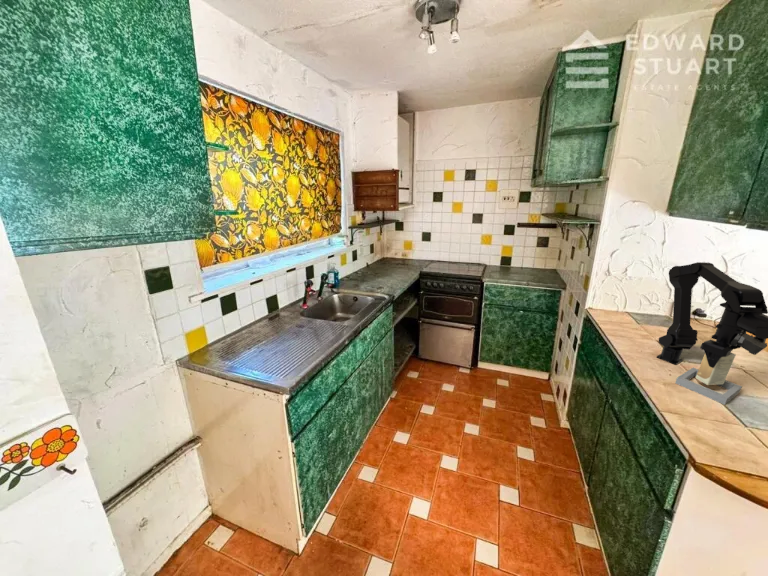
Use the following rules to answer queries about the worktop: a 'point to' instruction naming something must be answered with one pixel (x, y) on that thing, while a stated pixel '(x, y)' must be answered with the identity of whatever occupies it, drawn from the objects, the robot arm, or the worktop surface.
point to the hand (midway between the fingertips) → (715, 363)
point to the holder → (721, 398)
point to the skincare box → (715, 370)
